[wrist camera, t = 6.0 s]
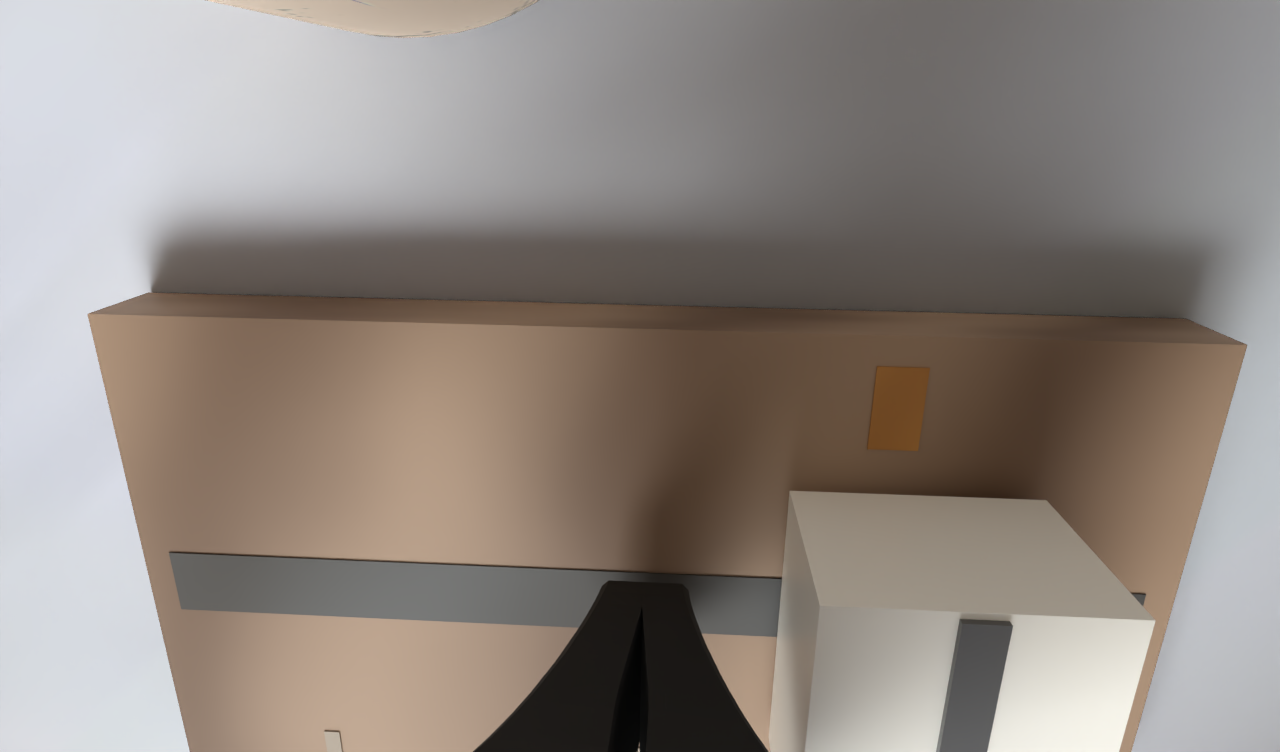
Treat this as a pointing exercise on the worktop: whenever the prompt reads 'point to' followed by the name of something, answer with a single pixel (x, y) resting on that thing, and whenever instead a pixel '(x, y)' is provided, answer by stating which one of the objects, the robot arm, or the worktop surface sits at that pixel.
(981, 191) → the worktop surface
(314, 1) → the teacup with lid
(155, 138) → the worktop surface
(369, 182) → the worktop surface
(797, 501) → the fader tab
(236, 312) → the console board
